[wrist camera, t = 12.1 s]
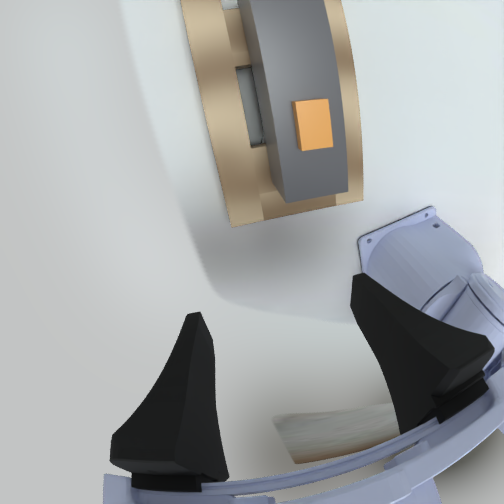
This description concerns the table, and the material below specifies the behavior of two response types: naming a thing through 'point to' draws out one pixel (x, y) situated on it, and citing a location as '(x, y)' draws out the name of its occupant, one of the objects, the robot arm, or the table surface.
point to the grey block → (297, 96)
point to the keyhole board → (233, 119)
